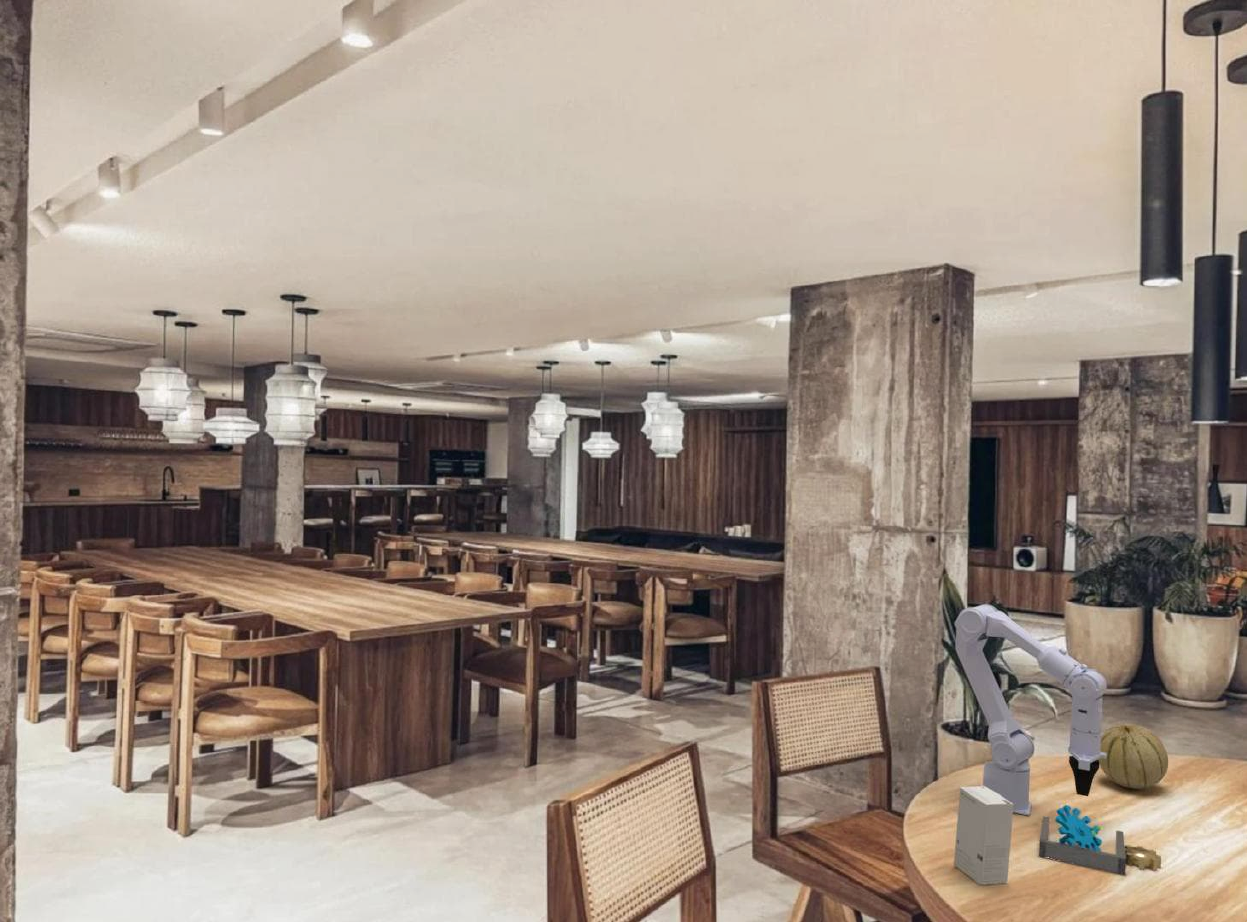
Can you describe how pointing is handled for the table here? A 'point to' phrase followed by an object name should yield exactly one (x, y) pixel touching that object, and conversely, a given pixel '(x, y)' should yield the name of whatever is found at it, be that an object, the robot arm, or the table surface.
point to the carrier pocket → (1098, 854)
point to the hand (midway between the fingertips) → (1082, 794)
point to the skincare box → (983, 835)
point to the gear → (1077, 829)
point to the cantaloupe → (1133, 756)
